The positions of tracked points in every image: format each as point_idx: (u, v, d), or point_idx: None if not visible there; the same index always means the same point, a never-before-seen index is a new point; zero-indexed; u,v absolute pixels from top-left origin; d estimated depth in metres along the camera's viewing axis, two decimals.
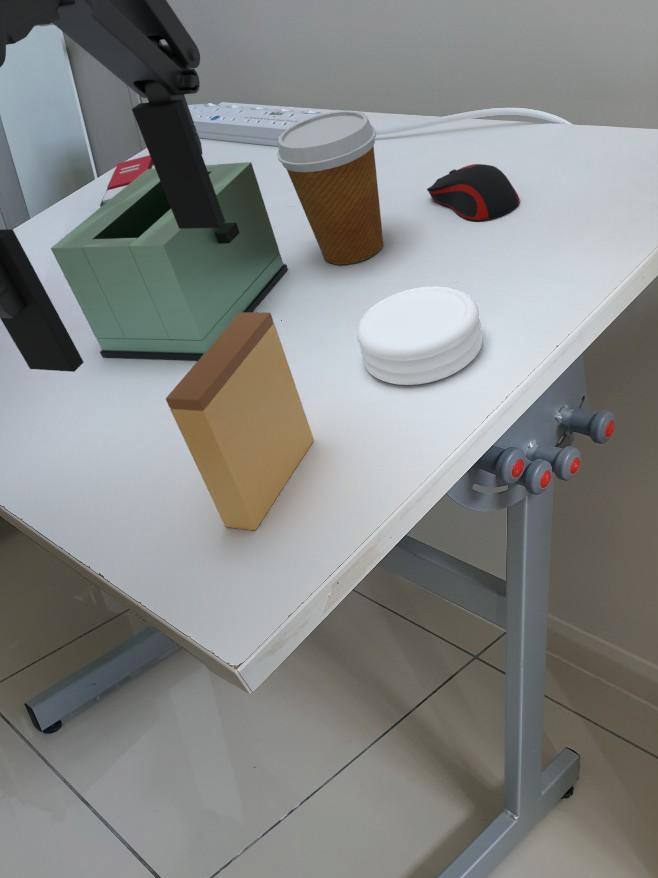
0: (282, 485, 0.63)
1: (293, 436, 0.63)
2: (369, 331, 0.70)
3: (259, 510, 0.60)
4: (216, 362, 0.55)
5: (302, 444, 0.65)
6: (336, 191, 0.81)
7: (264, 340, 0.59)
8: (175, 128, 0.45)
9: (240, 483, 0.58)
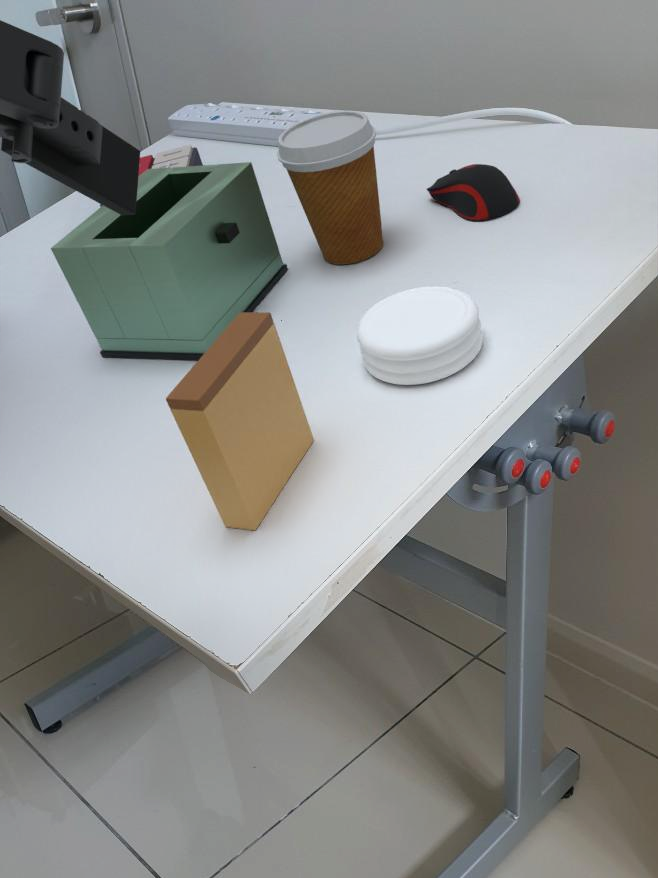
0: (282, 485, 0.63)
1: (293, 436, 0.63)
2: (369, 331, 0.70)
3: (259, 510, 0.60)
4: (216, 362, 0.55)
5: (302, 444, 0.65)
6: (336, 191, 0.81)
7: (264, 340, 0.59)
8: None
9: (240, 483, 0.58)
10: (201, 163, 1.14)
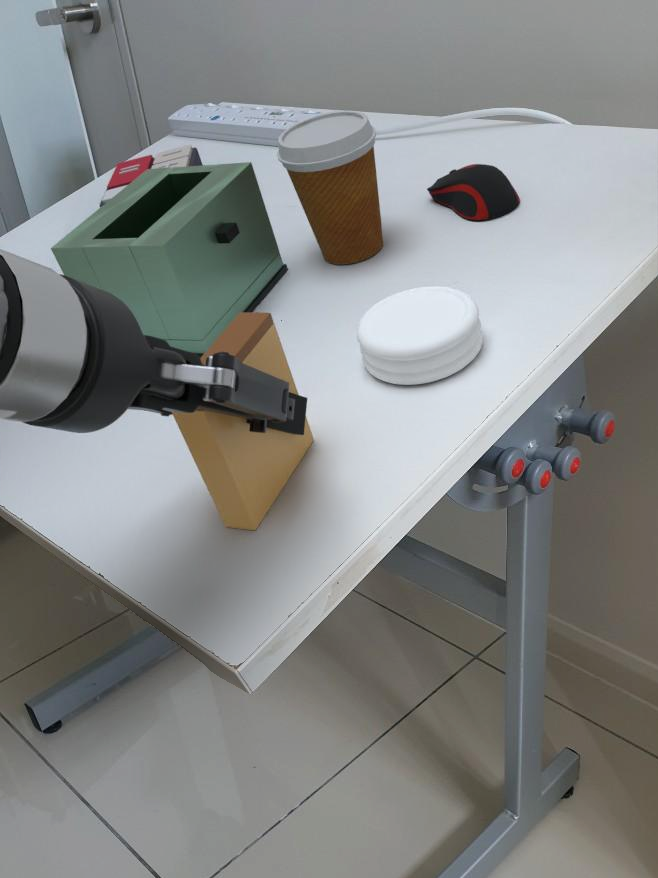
0: (282, 485, 0.63)
1: (293, 436, 0.63)
2: (369, 331, 0.70)
3: (259, 510, 0.60)
4: None
5: (302, 444, 0.65)
6: (336, 191, 0.81)
7: (264, 340, 0.59)
8: None
9: (240, 483, 0.58)
10: (201, 163, 1.14)
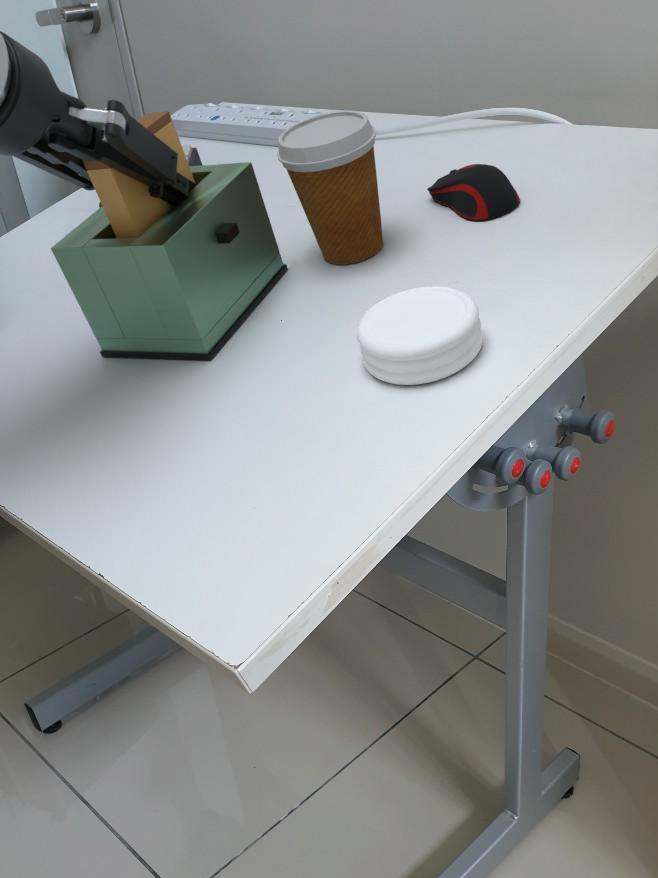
0: None
1: None
2: (369, 331, 0.70)
3: None
4: None
5: None
6: (336, 191, 0.81)
7: (163, 131, 0.76)
8: None
9: None
10: (200, 163, 1.14)
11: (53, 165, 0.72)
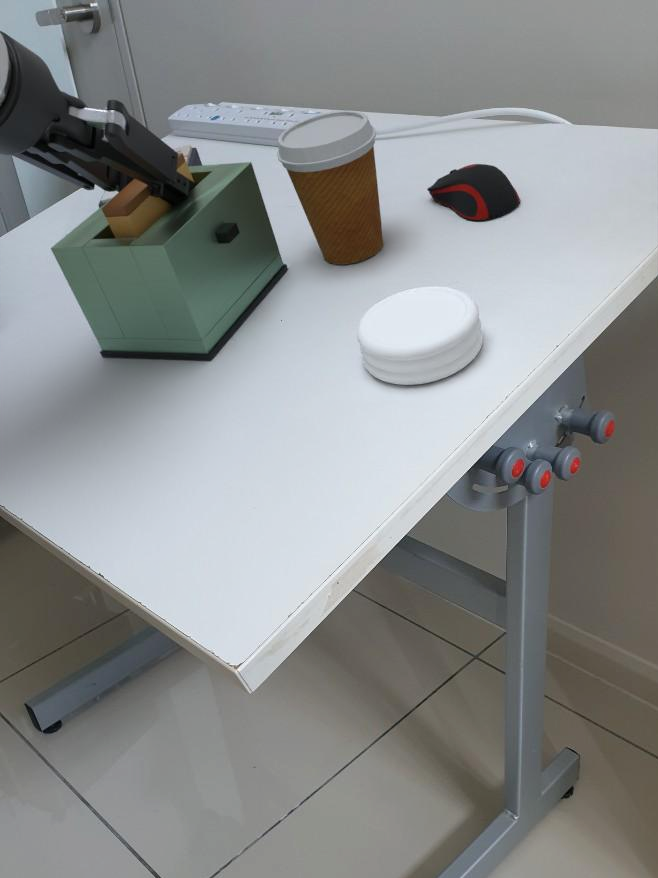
0: None
1: None
2: (369, 331, 0.70)
3: None
4: (139, 184, 0.76)
5: None
6: (336, 191, 0.81)
7: None
8: None
9: None
10: (200, 163, 1.14)
11: (53, 165, 0.72)
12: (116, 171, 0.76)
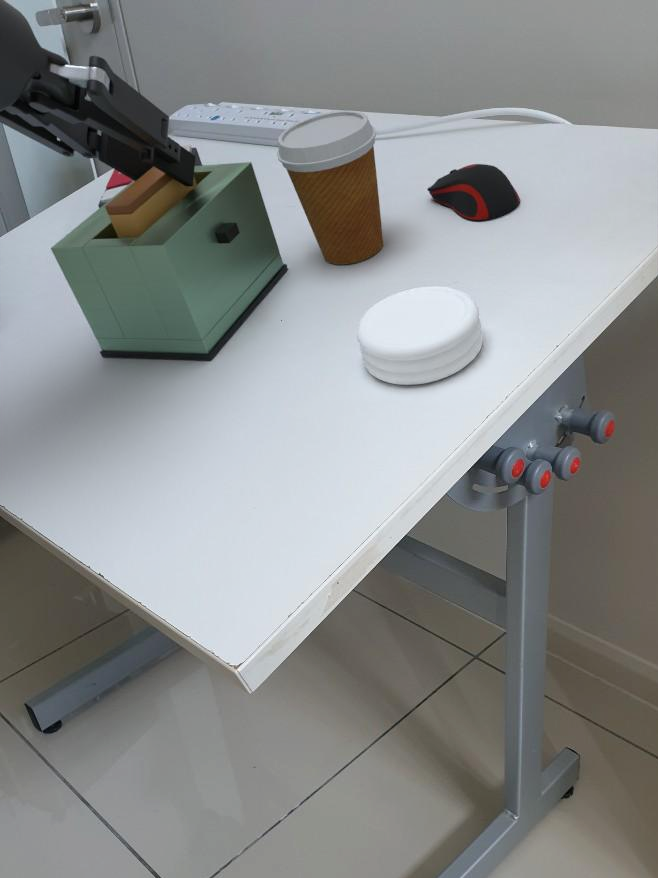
0: None
1: None
2: (369, 331, 0.70)
3: None
4: (143, 184, 0.76)
5: None
6: (336, 191, 0.81)
7: None
8: None
9: None
10: (200, 163, 1.14)
11: (32, 129, 0.71)
12: (96, 137, 0.74)
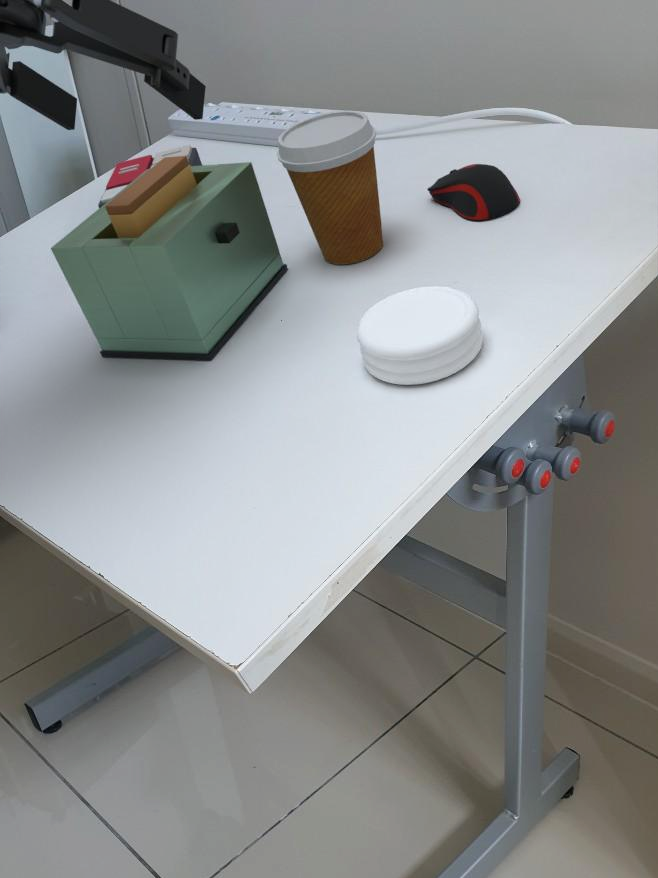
0: None
1: None
2: (369, 331, 0.70)
3: None
4: (143, 184, 0.76)
5: None
6: (336, 191, 0.81)
7: (181, 175, 0.79)
8: None
9: None
10: (200, 163, 1.14)
11: None
12: (8, 73, 0.71)
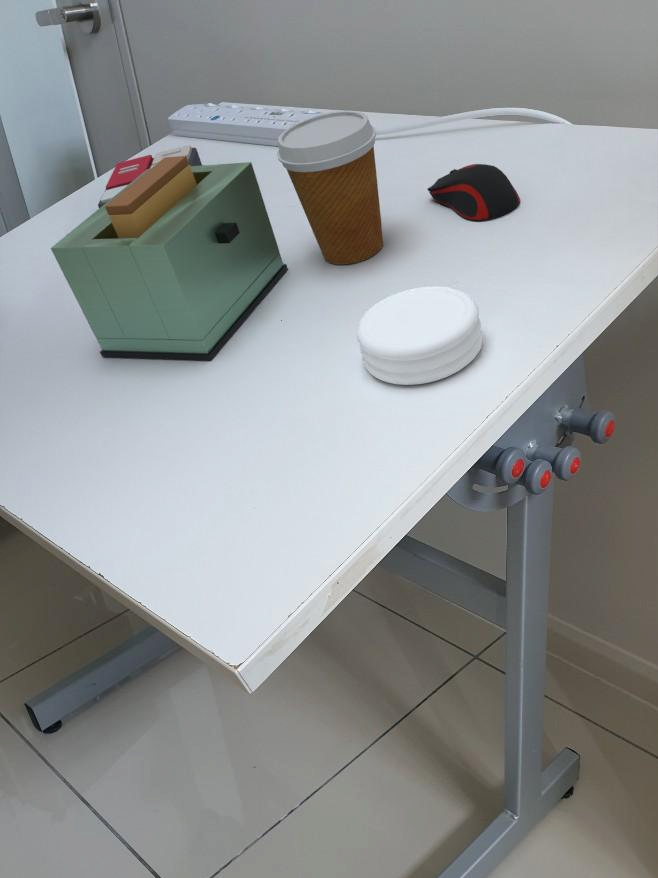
0: None
1: None
2: (369, 331, 0.70)
3: None
4: (143, 184, 0.76)
5: None
6: (336, 191, 0.81)
7: (181, 175, 0.79)
8: None
9: None
10: (200, 163, 1.14)
11: None
12: None
